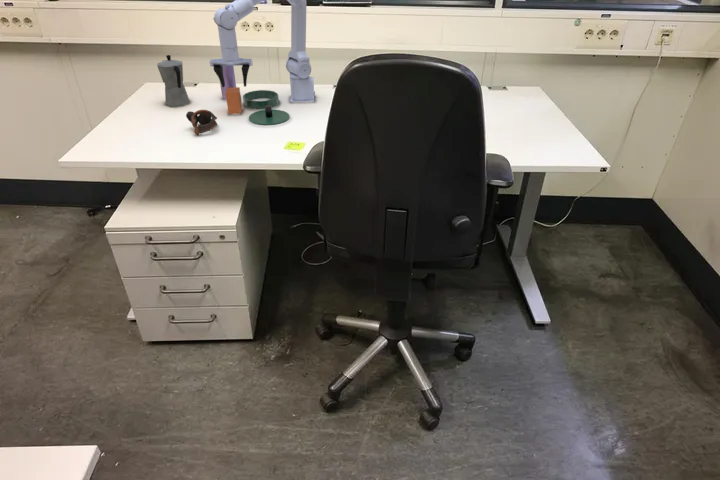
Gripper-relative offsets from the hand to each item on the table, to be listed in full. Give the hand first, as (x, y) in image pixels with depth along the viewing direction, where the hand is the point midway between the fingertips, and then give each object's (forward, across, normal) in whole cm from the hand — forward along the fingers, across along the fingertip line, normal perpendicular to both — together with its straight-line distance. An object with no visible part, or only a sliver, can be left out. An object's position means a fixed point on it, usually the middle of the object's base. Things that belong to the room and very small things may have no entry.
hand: (234, 86), depth 180 cm
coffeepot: (+10, -24, +11) cm, 28 cm away
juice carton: (+10, -1, 0) cm, 10 cm away
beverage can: (+10, -5, +16) cm, 20 cm away
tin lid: (+9, +12, -8) cm, 17 cm away
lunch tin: (+10, +8, +8) cm, 15 cm away
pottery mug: (+10, -10, -16) cm, 22 cm away
